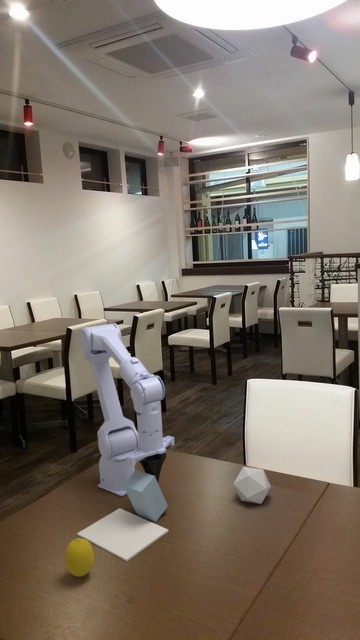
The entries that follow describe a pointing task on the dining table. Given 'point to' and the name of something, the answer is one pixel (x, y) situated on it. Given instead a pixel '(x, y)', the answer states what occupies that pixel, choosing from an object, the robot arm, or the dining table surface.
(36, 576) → the dining table surface
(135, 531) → the mat
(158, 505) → the block
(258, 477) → the die
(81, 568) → the lemon
